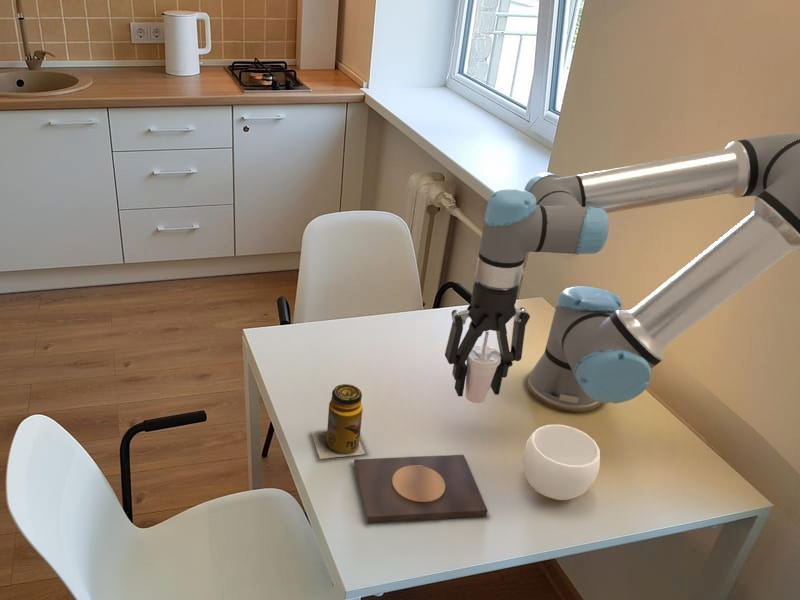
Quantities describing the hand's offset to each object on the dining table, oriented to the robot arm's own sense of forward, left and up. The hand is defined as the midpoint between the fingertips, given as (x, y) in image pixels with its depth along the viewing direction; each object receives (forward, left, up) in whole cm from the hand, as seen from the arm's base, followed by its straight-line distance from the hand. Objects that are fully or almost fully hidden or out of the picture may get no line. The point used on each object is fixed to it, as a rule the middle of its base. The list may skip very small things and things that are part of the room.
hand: (476, 391), depth 136 cm
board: (+14, +17, -8) cm, 24 cm away
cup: (-10, +18, -8) cm, 22 cm away
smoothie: (0, 0, -2) cm, 2 cm away
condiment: (+26, +4, -8) cm, 28 cm away
